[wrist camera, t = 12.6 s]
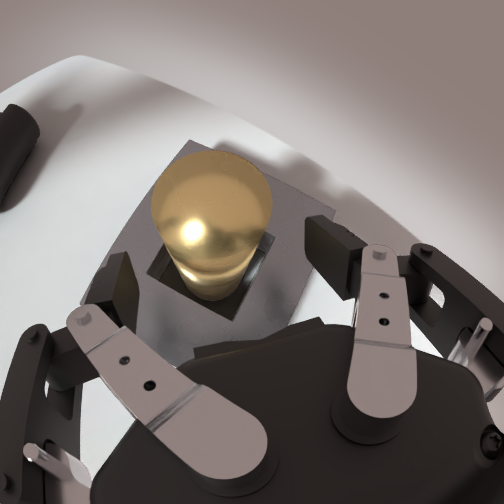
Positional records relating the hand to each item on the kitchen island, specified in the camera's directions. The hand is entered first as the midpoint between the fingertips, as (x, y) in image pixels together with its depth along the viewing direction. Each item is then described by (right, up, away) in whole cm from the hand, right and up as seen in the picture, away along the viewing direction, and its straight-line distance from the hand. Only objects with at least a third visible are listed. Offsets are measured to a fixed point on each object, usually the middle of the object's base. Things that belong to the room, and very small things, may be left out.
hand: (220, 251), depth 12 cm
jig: (-2, -1, +8) cm, 8 cm away
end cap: (-25, +8, +8) cm, 27 cm away
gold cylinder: (-2, -1, +8) cm, 8 cm away
